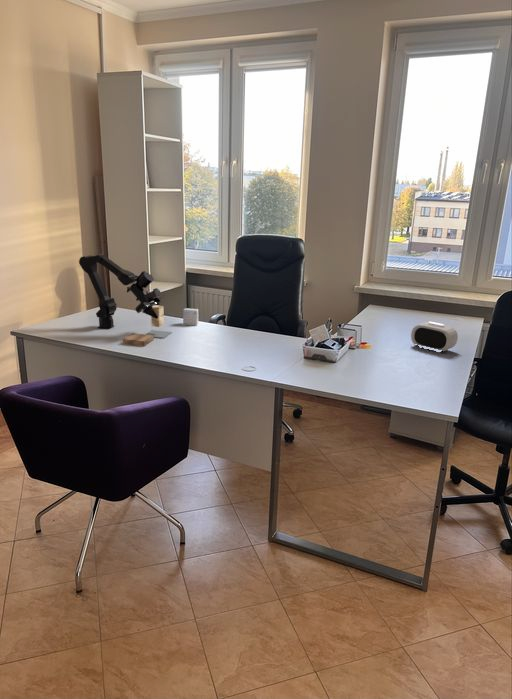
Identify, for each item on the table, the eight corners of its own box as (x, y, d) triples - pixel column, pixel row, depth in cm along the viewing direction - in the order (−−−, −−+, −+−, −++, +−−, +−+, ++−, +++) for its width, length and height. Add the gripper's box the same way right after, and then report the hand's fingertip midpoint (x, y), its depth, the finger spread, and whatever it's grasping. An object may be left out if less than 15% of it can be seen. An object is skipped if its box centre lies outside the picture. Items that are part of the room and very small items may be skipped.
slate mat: (143, 336, 256) (143, 335, 256) (152, 331, 266) (152, 330, 266) (164, 338, 254) (164, 337, 254) (171, 333, 264) (171, 332, 264)
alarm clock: (408, 346, 261) (412, 321, 257) (417, 342, 268) (420, 318, 264) (447, 355, 248) (452, 329, 244) (455, 351, 255) (459, 326, 251)
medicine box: (198, 323, 285) (198, 309, 282) (196, 325, 280) (196, 310, 278) (184, 323, 285) (184, 308, 283) (182, 324, 281) (182, 309, 278)
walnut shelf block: (123, 344, 243) (122, 339, 242) (132, 337, 253) (132, 333, 252) (144, 346, 241) (144, 341, 240) (153, 340, 251) (153, 335, 250)
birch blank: (151, 325, 257) (151, 306, 254) (155, 323, 261) (155, 305, 258) (159, 327, 256) (159, 307, 253) (163, 325, 260) (163, 306, 257)
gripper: (140, 286, 245) (160, 311, 245) (159, 280, 262) (178, 304, 262) (126, 300, 250) (146, 325, 250) (146, 294, 266) (164, 316, 267)
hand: (159, 317), depth 257 cm, fingers closed on birch blank, 4 cm apart
